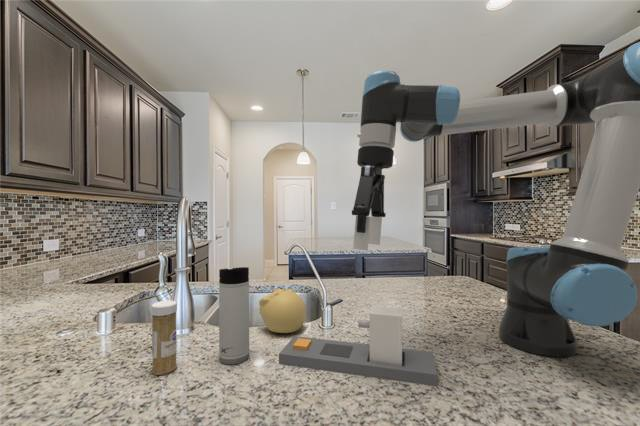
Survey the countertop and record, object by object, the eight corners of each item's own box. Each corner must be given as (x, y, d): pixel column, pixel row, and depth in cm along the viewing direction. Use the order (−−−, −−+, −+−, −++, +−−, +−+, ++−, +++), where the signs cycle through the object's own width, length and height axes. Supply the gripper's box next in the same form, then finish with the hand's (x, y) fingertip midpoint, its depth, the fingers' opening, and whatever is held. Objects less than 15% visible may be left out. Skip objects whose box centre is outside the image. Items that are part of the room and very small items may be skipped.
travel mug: (222, 368, 60) (222, 269, 60) (217, 355, 66) (216, 264, 66) (252, 361, 63) (252, 267, 63) (245, 349, 69) (245, 262, 69)
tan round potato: (286, 318, 89) (286, 282, 89) (314, 329, 81) (314, 289, 81) (253, 328, 81) (253, 289, 81) (280, 342, 73) (280, 298, 73)
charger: (402, 362, 61) (401, 308, 61) (402, 375, 56) (401, 316, 56) (360, 357, 63) (360, 305, 63) (357, 369, 58) (357, 312, 58)
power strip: (432, 366, 61) (432, 347, 61) (437, 391, 52) (437, 370, 52) (294, 349, 69) (294, 332, 69) (278, 368, 60) (278, 349, 60)
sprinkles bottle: (173, 374, 58) (173, 305, 58) (148, 377, 57) (147, 307, 57) (179, 362, 63) (179, 298, 63) (155, 365, 62) (155, 300, 62)
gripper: (370, 159, 77) (363, 240, 77) (342, 132, 54) (332, 249, 54) (400, 159, 75) (392, 244, 75) (384, 132, 51) (374, 255, 51)
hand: (367, 246), depth 64 cm, fingers open, 13 cm apart
